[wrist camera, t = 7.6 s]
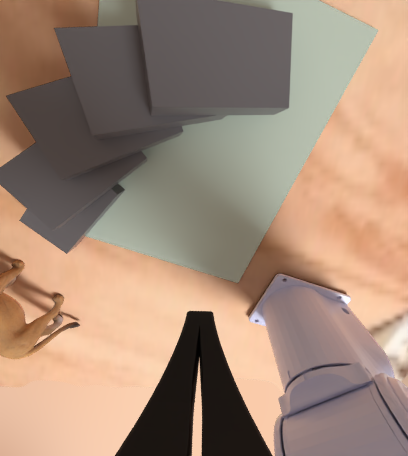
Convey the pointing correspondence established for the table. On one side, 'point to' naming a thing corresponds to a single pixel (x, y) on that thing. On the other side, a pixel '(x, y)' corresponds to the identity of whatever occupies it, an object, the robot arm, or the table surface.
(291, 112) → the mat
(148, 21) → the domino
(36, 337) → the lion figurine
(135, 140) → the domino
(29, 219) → the domino
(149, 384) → the table surface
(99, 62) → the domino
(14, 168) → the domino
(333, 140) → the table surface
